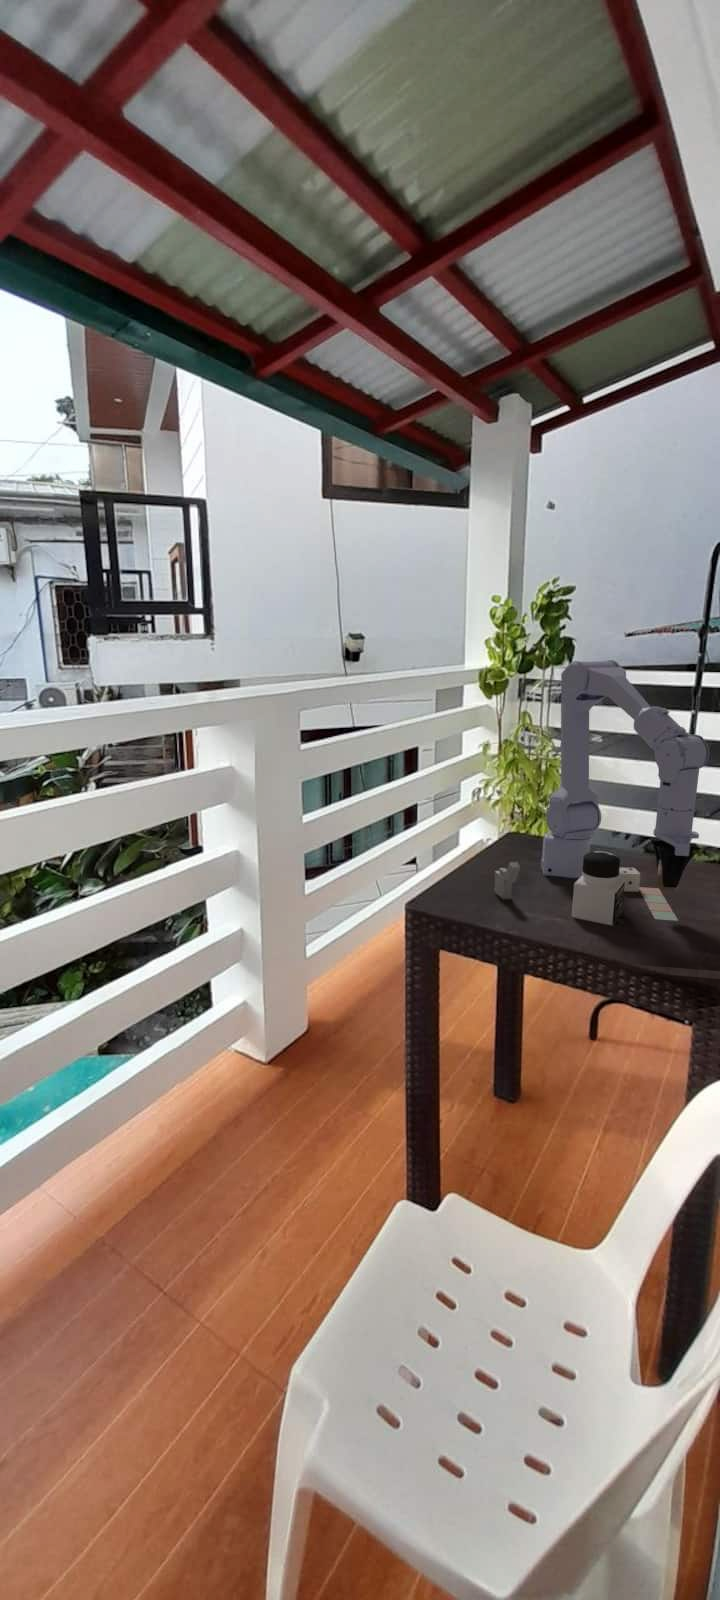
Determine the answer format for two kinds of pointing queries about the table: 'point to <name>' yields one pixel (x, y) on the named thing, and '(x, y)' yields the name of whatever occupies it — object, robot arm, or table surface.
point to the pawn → (659, 879)
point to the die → (630, 878)
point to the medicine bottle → (599, 889)
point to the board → (657, 904)
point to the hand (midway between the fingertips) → (667, 882)
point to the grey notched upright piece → (506, 880)
